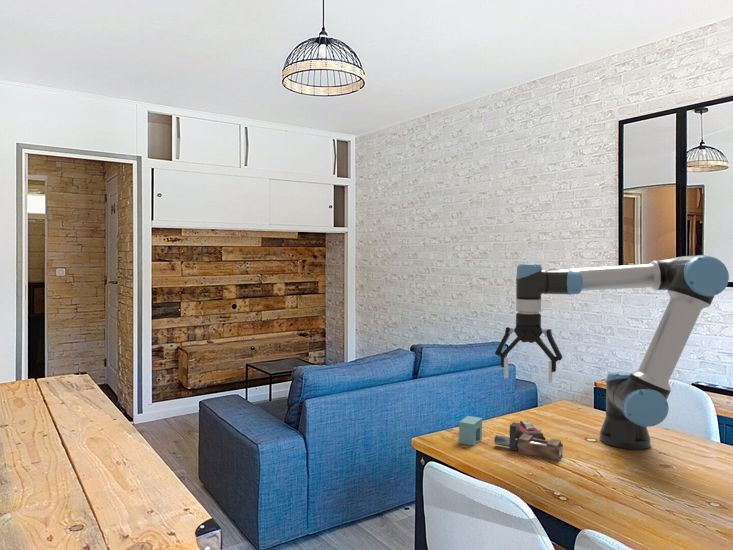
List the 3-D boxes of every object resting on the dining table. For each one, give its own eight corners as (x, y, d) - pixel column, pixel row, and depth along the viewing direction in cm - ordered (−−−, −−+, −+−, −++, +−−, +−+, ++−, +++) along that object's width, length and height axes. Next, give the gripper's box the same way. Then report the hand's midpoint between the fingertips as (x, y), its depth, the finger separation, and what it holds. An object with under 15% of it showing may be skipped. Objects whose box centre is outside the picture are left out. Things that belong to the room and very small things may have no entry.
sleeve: (562, 455, 163) (562, 440, 163) (558, 461, 158) (558, 445, 158) (523, 448, 169) (523, 433, 169) (518, 453, 164) (518, 438, 164)
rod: (561, 454, 162) (562, 430, 162) (559, 458, 159) (559, 433, 159) (497, 442, 173) (498, 419, 173) (493, 446, 169) (494, 422, 169)
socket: (481, 438, 178) (482, 418, 177) (473, 445, 171) (473, 424, 171) (467, 436, 180) (467, 415, 180) (458, 443, 173) (459, 421, 173)
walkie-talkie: (551, 443, 175) (528, 425, 195) (552, 430, 175) (528, 413, 195) (525, 444, 174) (504, 425, 194) (526, 430, 174) (505, 413, 194)
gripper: (572, 313, 164) (571, 381, 165) (491, 310, 176) (491, 373, 176) (569, 315, 158) (568, 386, 158) (486, 311, 169) (485, 378, 170)
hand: (527, 379), depth 167 cm, fingers open, 13 cm apart
